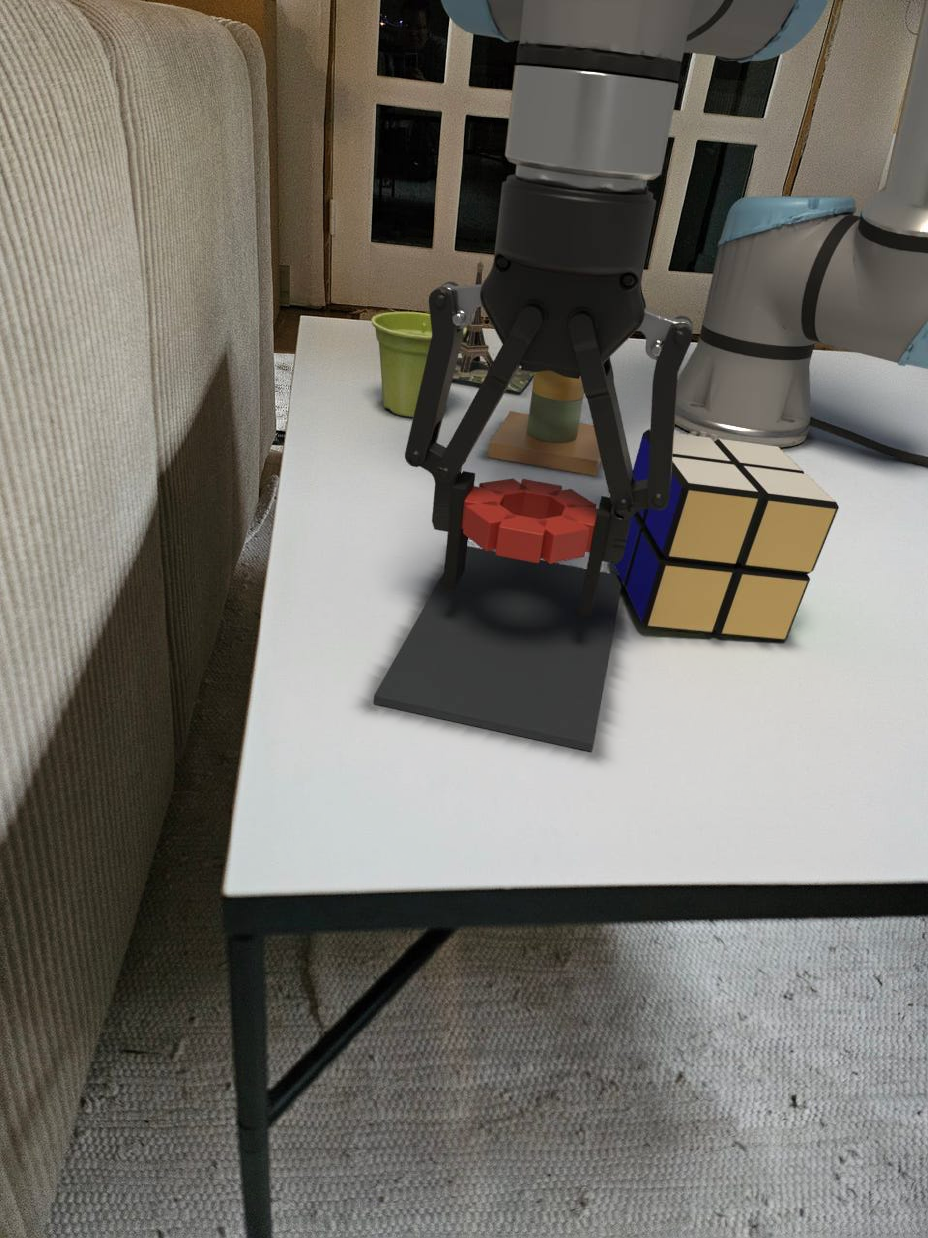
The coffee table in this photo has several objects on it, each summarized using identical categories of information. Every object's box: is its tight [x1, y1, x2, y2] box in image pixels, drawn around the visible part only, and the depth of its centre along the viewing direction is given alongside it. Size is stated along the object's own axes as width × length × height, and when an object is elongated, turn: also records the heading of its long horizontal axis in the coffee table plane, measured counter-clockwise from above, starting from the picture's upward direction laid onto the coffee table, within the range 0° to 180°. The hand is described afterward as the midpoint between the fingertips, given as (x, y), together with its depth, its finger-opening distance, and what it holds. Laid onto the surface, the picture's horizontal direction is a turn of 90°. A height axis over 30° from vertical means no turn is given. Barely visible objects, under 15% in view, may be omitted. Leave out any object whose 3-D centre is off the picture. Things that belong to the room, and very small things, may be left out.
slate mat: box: [373, 545, 623, 752], centre depth 57 cm, size 12×20×1 cm, turn 167°
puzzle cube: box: [612, 429, 840, 642], centre depth 60 cm, size 10×10×10 cm
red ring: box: [461, 478, 598, 564], centre depth 53 cm, size 8×8×2 cm
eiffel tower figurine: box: [453, 252, 535, 393], centre depth 104 cm, size 15×10×13 cm
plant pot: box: [371, 311, 467, 418], centre depth 91 cm, size 9×9×9 cm
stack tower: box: [487, 371, 601, 477], centre depth 84 cm, size 10×10×13 cm
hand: (519, 591), depth 55 cm, fingers closed on red ring, 8 cm apart
